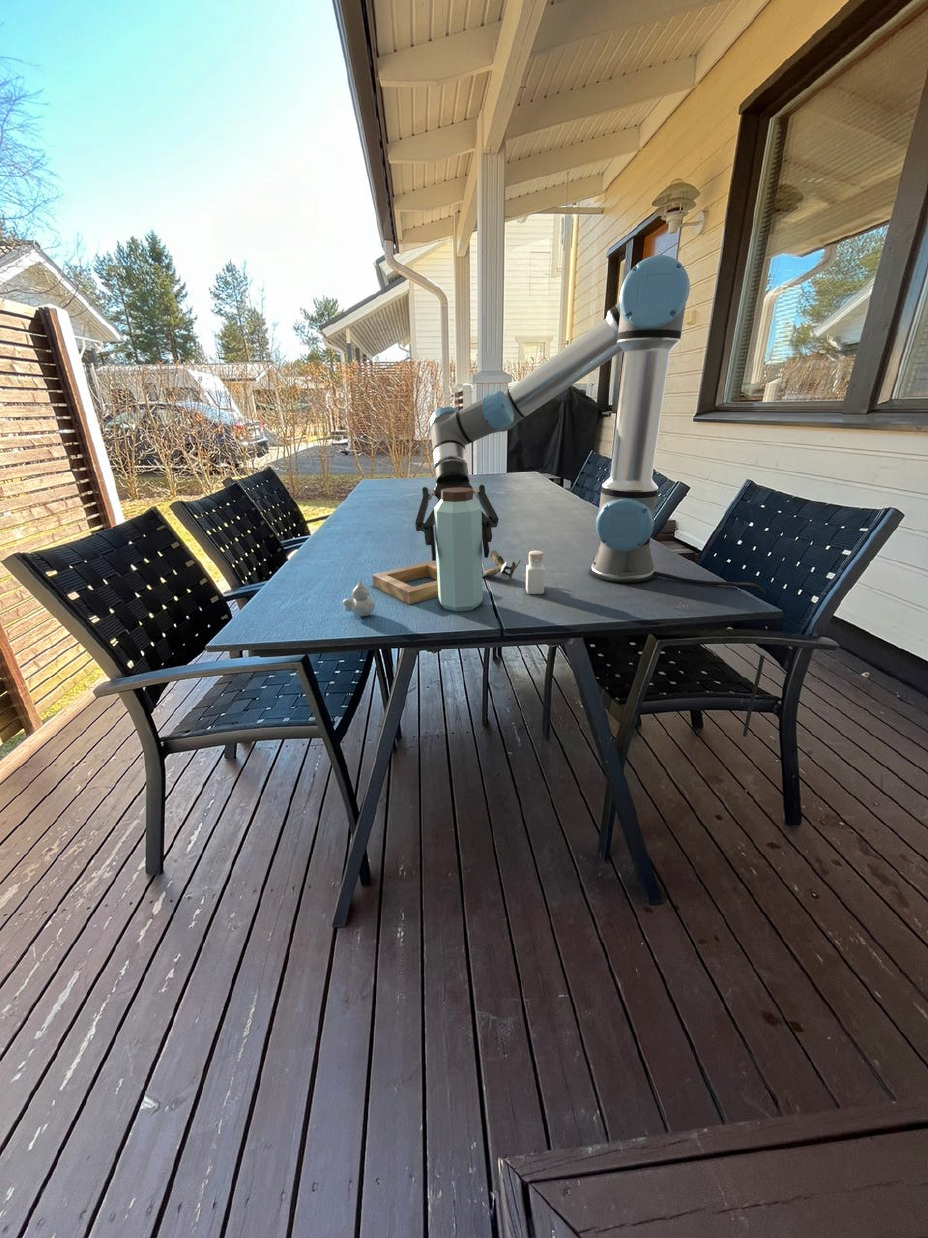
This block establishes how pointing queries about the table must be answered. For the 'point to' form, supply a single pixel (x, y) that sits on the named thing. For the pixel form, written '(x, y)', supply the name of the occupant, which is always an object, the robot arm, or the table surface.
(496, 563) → the eagle figurine
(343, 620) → the table surface
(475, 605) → the water bottle
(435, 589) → the frame
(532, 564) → the pepper shaker
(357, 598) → the white rounded figurine
